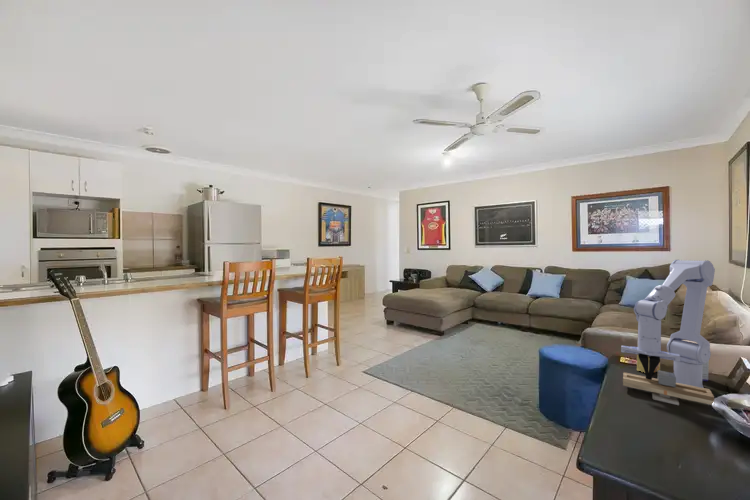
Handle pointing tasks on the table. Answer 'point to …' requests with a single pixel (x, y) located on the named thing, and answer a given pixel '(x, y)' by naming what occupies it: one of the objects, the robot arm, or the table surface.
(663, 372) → the block
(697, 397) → the tan slotted track
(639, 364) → the candy box
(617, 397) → the table surface
